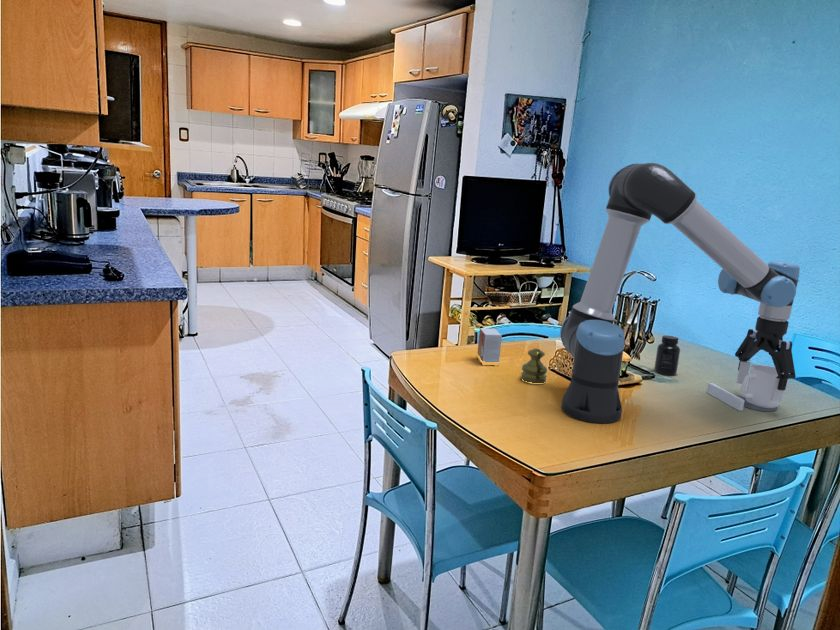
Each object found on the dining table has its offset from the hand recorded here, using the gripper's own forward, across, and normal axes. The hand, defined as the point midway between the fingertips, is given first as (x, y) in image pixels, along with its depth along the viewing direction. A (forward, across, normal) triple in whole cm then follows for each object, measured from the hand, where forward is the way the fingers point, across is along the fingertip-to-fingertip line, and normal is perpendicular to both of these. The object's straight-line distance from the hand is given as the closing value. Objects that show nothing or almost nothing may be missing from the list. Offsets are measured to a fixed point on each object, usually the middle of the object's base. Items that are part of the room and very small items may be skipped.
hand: (757, 391), depth 165 cm
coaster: (+4, 0, 0) cm, 4 cm away
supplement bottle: (+4, +28, +11) cm, 30 cm away
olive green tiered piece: (+5, +20, +59) cm, 62 cm away
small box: (+5, +38, +68) cm, 78 cm away
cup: (+4, 0, 0) cm, 4 cm away
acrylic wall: (+4, +3, +8) cm, 9 cm away
